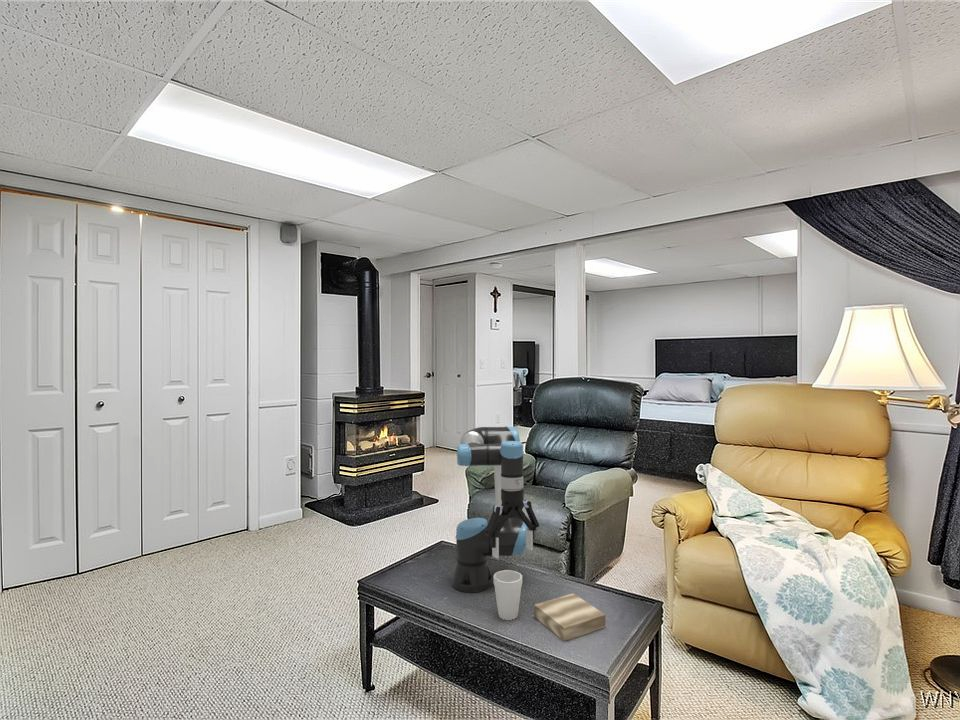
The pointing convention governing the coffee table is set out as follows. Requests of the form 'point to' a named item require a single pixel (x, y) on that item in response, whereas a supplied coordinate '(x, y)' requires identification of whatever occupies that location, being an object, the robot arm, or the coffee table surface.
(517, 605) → the foam cup
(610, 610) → the coffee table surface
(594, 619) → the wooden base
